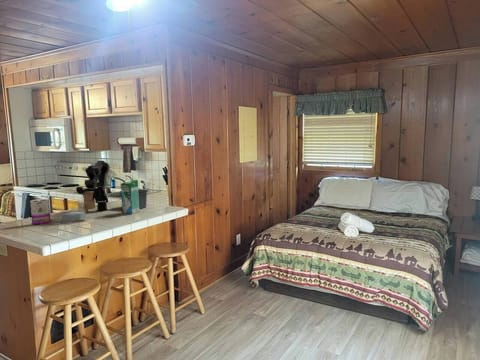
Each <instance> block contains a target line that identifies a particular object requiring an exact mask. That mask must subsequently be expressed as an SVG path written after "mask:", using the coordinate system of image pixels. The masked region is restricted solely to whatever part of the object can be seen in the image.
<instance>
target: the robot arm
mask: <svg viewBox="0 0 480 360" xmlns="http://www.w3.org/2000/svg"><path fill="white" fill-rule="evenodd" d="M110 169H111V167H110V165H109V163H108V162H106V161H104V160H97V161H96V164H95V165H94V166H88V167H87V168H85V170H84V172H85V174H86V176H87V178H88V179H85V180H84V185H85V187H83V186H77V187H76V188H75V191H76V192H77V194H78V195H82V197H83V199H84V196H83V193H84V192H86V191H94V194H93V199H92V200H94V199H95V204H97V205H96V208H97V209H96V212H105V211H108V210H109V208H108V205H107V204H108V203H109V197H108V196H107V194H106V182H107V181H106V180H107V175H108V174H109V171H110ZM98 176H99V178H98ZM98 179H99V180H98ZM98 181H99V183H98V185H97V182H98Z"/></svg>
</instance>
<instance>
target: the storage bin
mask: <svg viewBox="0 0 480 360" xmlns="http://www.w3.org/2000/svg"><path fill="white" fill-rule="evenodd" d="M119 192H120V193H121V190H119ZM138 192H139V210H140V209H144V208H147V201H148V200H147V199H148V198H147V195H148V194H147V193H149V190H148V189H142V188H141V189H139V188H138Z"/></svg>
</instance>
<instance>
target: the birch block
mask: <svg viewBox="0 0 480 360" xmlns="http://www.w3.org/2000/svg"><path fill="white" fill-rule="evenodd" d="M77 209H78V210H77V212H85V214H87V213H89V210H85V208H84V201H80V202H77Z"/></svg>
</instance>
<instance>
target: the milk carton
mask: <svg viewBox="0 0 480 360" xmlns="http://www.w3.org/2000/svg"><path fill="white" fill-rule="evenodd" d="M138 189H139V180H138V179H127V180H124V181H123V182H121V183H120V191H121V192H120V196H121V207H122V208H121V211H122V214H126V215H135V214H137V213H140V209H139V192H138Z"/></svg>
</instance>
